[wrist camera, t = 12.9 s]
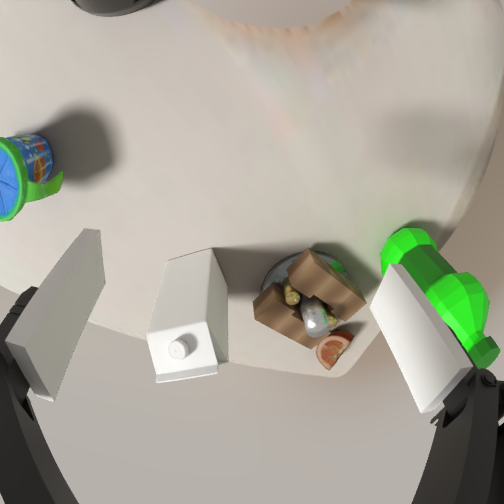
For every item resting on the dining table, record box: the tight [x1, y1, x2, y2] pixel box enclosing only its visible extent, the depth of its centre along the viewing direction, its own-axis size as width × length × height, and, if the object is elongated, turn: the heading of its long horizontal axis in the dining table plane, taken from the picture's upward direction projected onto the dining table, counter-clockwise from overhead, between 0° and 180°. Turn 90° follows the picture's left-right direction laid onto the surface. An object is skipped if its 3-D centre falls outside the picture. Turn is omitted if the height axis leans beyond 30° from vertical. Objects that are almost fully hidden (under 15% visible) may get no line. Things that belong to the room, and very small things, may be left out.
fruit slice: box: [316, 331, 354, 370], centre depth 52 cm, size 8×7×5 cm
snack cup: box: [0, 135, 63, 222], centre depth 29 cm, size 16×10×10 cm
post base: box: [262, 251, 349, 337], centre depth 44 cm, size 14×14×9 cm
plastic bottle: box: [380, 228, 500, 369], centre depth 34 cm, size 10×10×25 cm
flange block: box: [253, 248, 366, 349], centre depth 45 cm, size 12×12×4 cm
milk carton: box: [146, 248, 229, 383], centre depth 37 cm, size 7×7×19 cm
